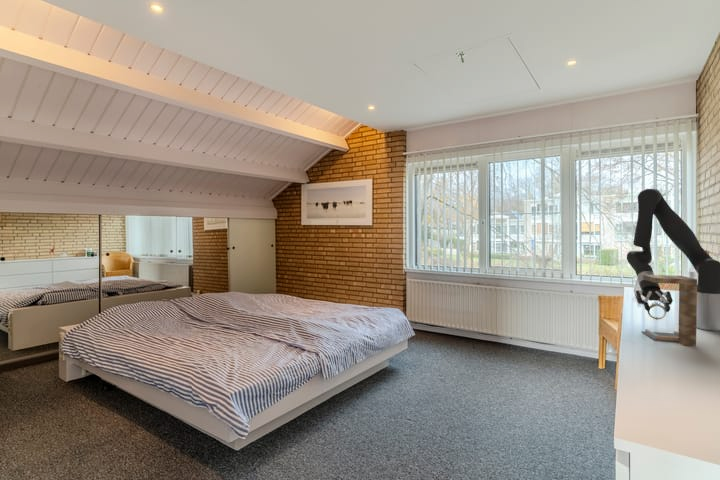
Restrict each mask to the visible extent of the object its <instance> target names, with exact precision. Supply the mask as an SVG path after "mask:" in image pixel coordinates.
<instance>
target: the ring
mask: <svg viewBox="0 0 720 480" xmlns="http://www.w3.org/2000/svg"><path fill="white" fill-rule="evenodd" d="M661 304H662V303H660V302H655V301H654V302H652V303H651V304H649V307H650V310H651V309H652V308H654V307H660V309H662V310H663V311H664V313H663V315H662V316H661V317H658V316H657V317H655V316H653V315H651V312H650V311H647V314H648V316H649V318H652V319H654V320H657V321H658V320H663V319H664V318H665V317H666V315H667V312H666V309H665V307H664V305H663V304H662V305H661Z"/></svg>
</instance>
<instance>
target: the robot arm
mask: <svg viewBox="0 0 720 480" xmlns="http://www.w3.org/2000/svg"><path fill="white" fill-rule="evenodd" d="M637 204H638V206H637V208H638V209H637V211H638V212H637V221H636V226H635V231H634V237H633V241H632V242H633V246H635V247H639V248H641V249H642V250H630V251H628V252H627V254H626V261H627V262H628V264H629V265H630V267H631V268H632V269H633V270H634V272H635V274H636V277H637V282H638V285H639V287H640V291H639V290H636V291H635V292H634V293H635V294H634V295H635V298H636V301H637V303H638V304H639V305H640V304H641V305H643V307H644V309H645V311H647V312H648V311H649V312H650V311H651V309H650V307H649V306H650V304H649V301H654V302H655V301H657V302H658V303H659V304H660V303H661V304H662V305H663V307H664V308H665V309H666V313H669V311H671V305H672V303H673V302H674V300H673V298H672V295H671V292H670V291H666V292H664V291H662V290H661V287H660V283H654V282H651V281H647V280H644V279H643V275H655V273H654V271H653V267H652V266H651V265H650V263H652V260H653V255H652V250H651V249H652V248H651V240H652V233H653V222H654V221H653V219H654V216H655V218H656V219H657V221H658V224H659V225H660V227H661V228H662V231H663V232H664V234H665V235H666V236H667V237H668V238H669V240H670V241H671V242H672V243H673V244H674V245H675V246H676V247H677V248H678V250H680V251H681V252H682V253H683V254H684V255H685V257H686V258H687V259H688V261H689V262H690V263H691V265H692V267H693V268H694V269H695V272H696V273H697V324H696V329H701V330H705V331H714V332H717V331H718V332H719V331H720V261H719V260H717V259H714V258H713V257H712V256H711V255H709V253H707V251H706V250H704V248H703V247H702V245H701V244H700V242H699V240H698V238H697V236H696V234H695V233H694V231H693V230H692V229H691V227H690V226H689V225H688V224H687V223H686V221H684V219H682V218H681V216H680V215H679V214H678V213H676V211H675V210H673V208H672V207H670V205H669V204H668V203H667V200H666V199H665V198H664V196H663V194H662V193H661V191H659V190H658V189H656V187H655V188H653V187H648V188H644V189H643V190H641V191H640V192H639V193H638V194H637ZM642 296H643V297H644V298H645V299H643V298H642Z"/></svg>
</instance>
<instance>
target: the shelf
mask: <svg viewBox="0 0 720 480" xmlns="http://www.w3.org/2000/svg"><path fill="white" fill-rule="evenodd" d="M643 279H644V280H647V281H651V282H654V283H658V284H676V285H677V284H678V332H679V333H678V342H677V343H679V344H681V345H682V346H688V347H697V327H696V324H697V284H698V278H697V279H696V278H693V277H687V276H684V275H667V274H666V275H665V274H663V275H662V274H654V275H643Z"/></svg>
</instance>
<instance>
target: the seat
mask: <svg viewBox="0 0 720 480" xmlns="http://www.w3.org/2000/svg"><path fill="white" fill-rule="evenodd" d="M641 333H642V334H644V335H645V336H646V337H648V338H650V339H651V340H652V341H657V342H658V341H659V342H661V341H662V342H672V343H679V342H678V333H679V331H677V330H674V331H673V332H660V331H651V330H650V329H648V328H647V329H645V331H644V330H643V331H641Z"/></svg>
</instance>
